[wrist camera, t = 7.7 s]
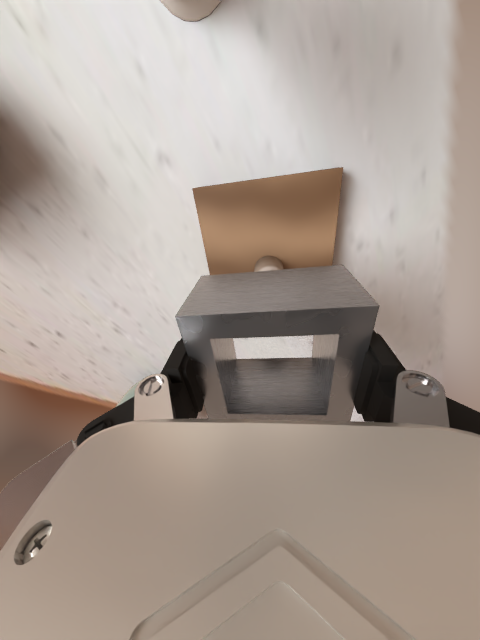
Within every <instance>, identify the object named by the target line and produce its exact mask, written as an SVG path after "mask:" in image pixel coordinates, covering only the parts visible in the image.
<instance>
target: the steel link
mask: <svg viewBox="0 0 480 640" xmlns="http://www.w3.org/2000/svg"><path fill="white" fill-rule="evenodd" d="M378 309H379V305H378V303H377V302H376V301H375V300H374V299H373V298H372V297H371V296H370V295H369V293H368V292H367V291H366V290H365V289H364V288H363V287H362V286H361V284H360V283H359V282H358V281H357V280H356V279H355V278H354V277H353V276H352V274H351V273H350V272H349V271H348V270H347V269H346V268H345V267H344V265H332V266H320V267H307V268H295V269H282V270H270V271H257V272H245V273H232V274H220V275H207V276H201V277H200V279H199V280H198V282H197V284H196V285H195V287H194V288H193V290H192V291H191V293H190V294H189V296H188V297H187V299H186V300H185V302H184V304H183V305H182V307H181V308H180V310H179V311H178V313H177V314H176V316H175V318H176V321H177V324H178V327H179V330H180V333H181V336H182V339H183V342H184V345H185V348H186V351H187V354H188V356H190V359H191V362H192V365H193V368H194V371H195V374H196V377H197V381H198V384H199V387H200V390H201V393H202V396H203V399H204V406H205V409H206V412H207V415H208V419H254V420H308V421H350V420H351V416H352V412H353V408H354V403H353V401H354V397H355V393H356V389H357V385H358V381H359V377H360V373H361V369H362V365H363V361H364V357H365V353H366V352H368V349H369V345H370V341H371V337H372V333H373V329H374V325H375V321H376V317H377V313H378ZM304 335H314V336H313V349H312V358H269V359H236V353H235V348H234V342H233V338H249V337H276V336H304Z"/></svg>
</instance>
